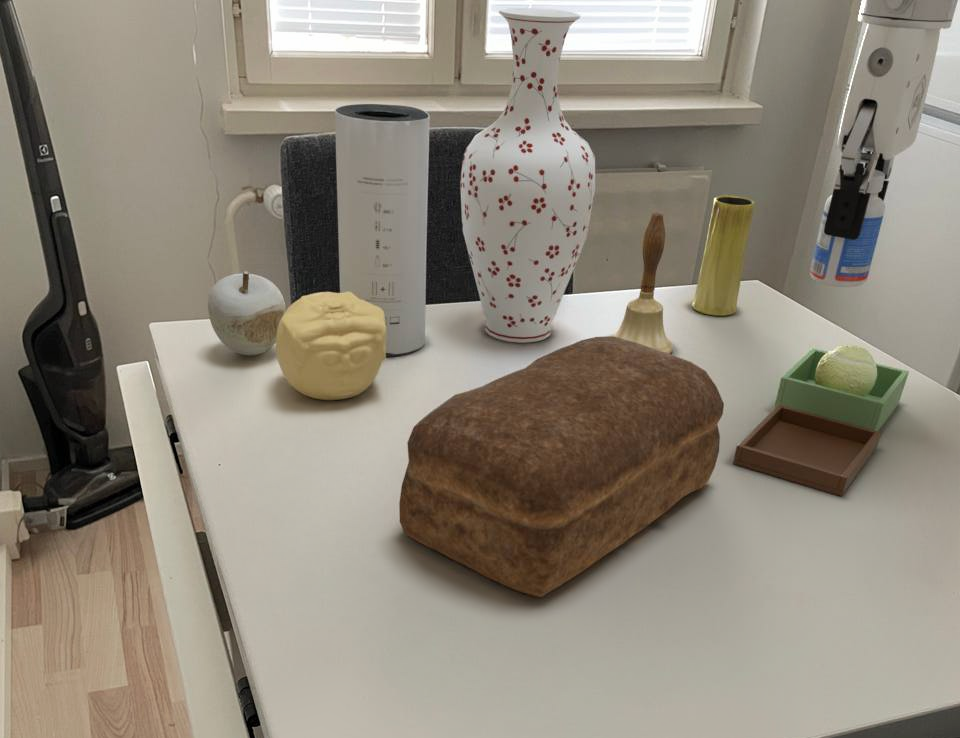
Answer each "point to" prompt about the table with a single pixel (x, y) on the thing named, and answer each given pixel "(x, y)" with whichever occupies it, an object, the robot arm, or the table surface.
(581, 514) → the bread
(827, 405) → the green bin
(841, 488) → the walnut tray
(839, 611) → the table surface
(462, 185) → the vase
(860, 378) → the tennis ball
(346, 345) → the sculpture
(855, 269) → the pill bottle
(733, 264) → the vase
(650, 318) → the hand bell
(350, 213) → the speaker
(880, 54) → the robot arm
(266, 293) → the decorative object
